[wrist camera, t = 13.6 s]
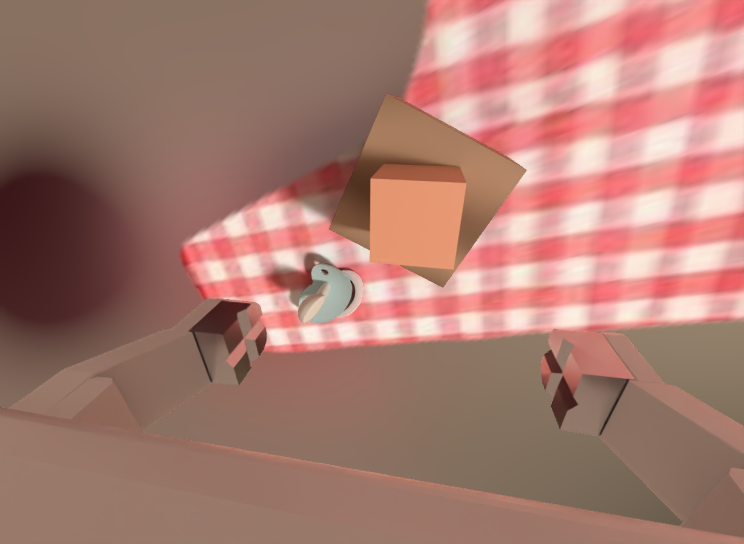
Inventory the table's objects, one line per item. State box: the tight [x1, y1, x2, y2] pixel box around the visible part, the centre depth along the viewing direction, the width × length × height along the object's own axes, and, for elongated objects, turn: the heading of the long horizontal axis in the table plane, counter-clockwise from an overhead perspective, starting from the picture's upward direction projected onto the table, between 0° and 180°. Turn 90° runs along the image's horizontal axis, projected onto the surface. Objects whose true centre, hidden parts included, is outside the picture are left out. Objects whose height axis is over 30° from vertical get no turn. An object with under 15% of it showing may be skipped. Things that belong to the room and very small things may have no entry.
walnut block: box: [329, 94, 527, 287], centre depth 25 cm, size 10×10×6 cm
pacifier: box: [298, 263, 364, 323], centre depth 31 cm, size 7×6×6 cm
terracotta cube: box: [370, 164, 467, 270], centre depth 20 cm, size 5×5×5 cm
